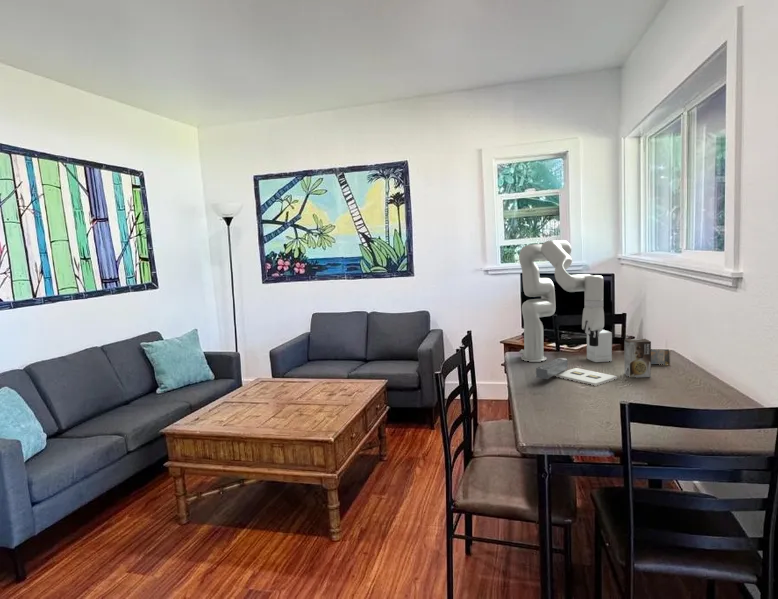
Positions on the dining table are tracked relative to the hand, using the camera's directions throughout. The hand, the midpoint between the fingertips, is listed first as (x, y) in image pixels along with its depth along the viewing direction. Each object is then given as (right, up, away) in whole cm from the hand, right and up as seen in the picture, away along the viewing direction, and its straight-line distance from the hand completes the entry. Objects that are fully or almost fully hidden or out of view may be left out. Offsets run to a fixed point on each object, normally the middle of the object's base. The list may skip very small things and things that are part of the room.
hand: (593, 345), depth 206 cm
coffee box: (+21, -14, +5) cm, 26 cm away
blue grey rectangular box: (+40, -12, +22) cm, 47 cm away
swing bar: (-15, -13, +7) cm, 21 cm away
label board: (-3, -15, +6) cm, 16 cm away
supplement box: (+18, -11, +35) cm, 41 cm away
